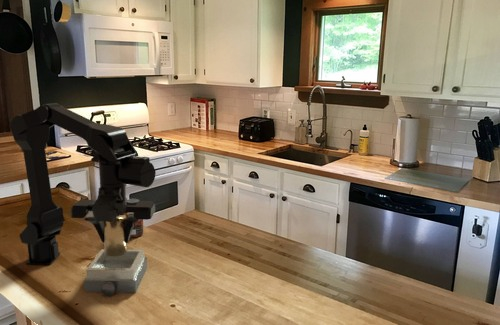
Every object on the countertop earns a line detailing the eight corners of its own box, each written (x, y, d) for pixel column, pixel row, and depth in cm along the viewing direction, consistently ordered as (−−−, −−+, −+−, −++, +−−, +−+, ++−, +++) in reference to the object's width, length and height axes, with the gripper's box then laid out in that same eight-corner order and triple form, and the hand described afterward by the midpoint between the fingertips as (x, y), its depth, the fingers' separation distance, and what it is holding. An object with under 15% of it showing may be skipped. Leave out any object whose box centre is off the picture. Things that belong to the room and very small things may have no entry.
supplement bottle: (138, 239, 126) (136, 204, 124) (120, 237, 127) (118, 202, 125) (146, 231, 132) (145, 198, 129) (129, 229, 133) (128, 196, 130)
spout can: (101, 256, 98) (99, 213, 95) (108, 246, 103) (107, 205, 100) (123, 257, 98) (122, 214, 95) (128, 247, 103) (128, 206, 101)
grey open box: (81, 296, 95) (80, 274, 93) (101, 267, 108) (100, 248, 107) (133, 296, 95) (133, 275, 94) (147, 268, 108) (146, 249, 107)
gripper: (57, 190, 88) (63, 256, 92) (144, 192, 89) (146, 258, 93) (77, 176, 99) (81, 236, 103) (154, 178, 100) (156, 237, 103)
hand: (115, 242), depth 100 cm, fingers closed on spout can, 5 cm apart
